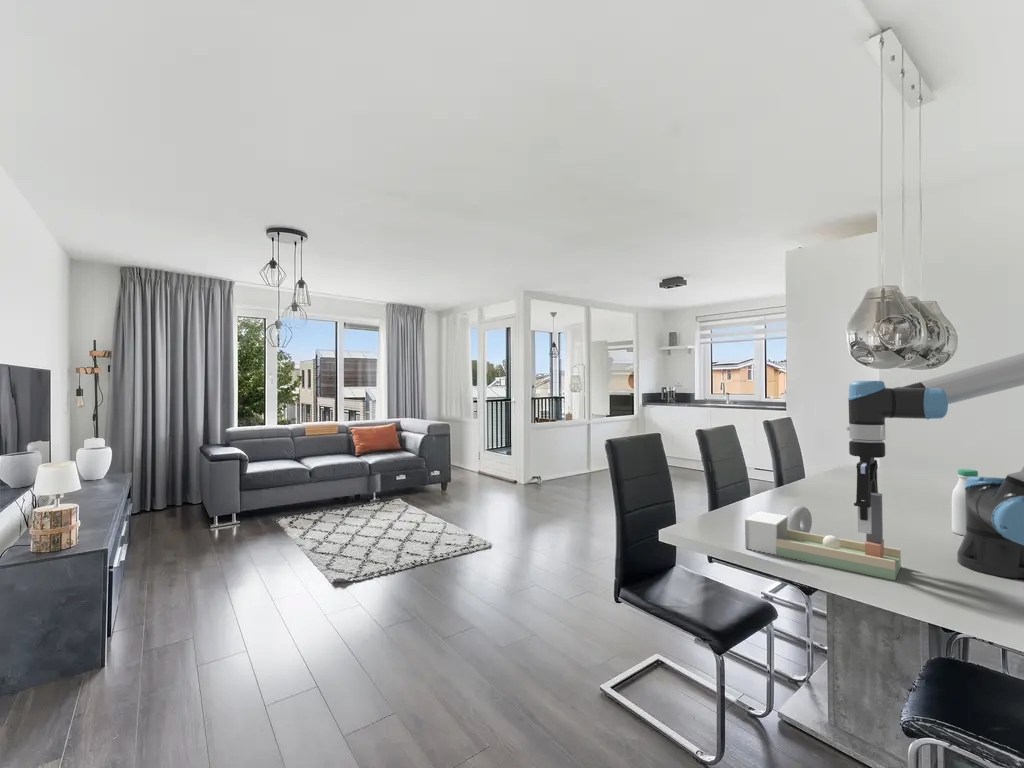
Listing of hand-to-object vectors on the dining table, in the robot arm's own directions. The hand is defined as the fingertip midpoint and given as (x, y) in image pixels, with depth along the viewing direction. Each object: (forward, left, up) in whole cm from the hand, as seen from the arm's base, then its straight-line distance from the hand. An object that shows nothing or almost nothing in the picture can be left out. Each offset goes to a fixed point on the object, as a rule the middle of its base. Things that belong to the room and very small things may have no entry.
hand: (867, 528), depth 126 cm
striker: (-1, 0, -7) cm, 7 cm away
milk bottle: (-18, -54, -10) cm, 58 cm away
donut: (+19, -15, -10) cm, 26 cm away
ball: (+8, 0, -5) cm, 10 cm away
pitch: (+11, 0, -10) cm, 15 cm away
